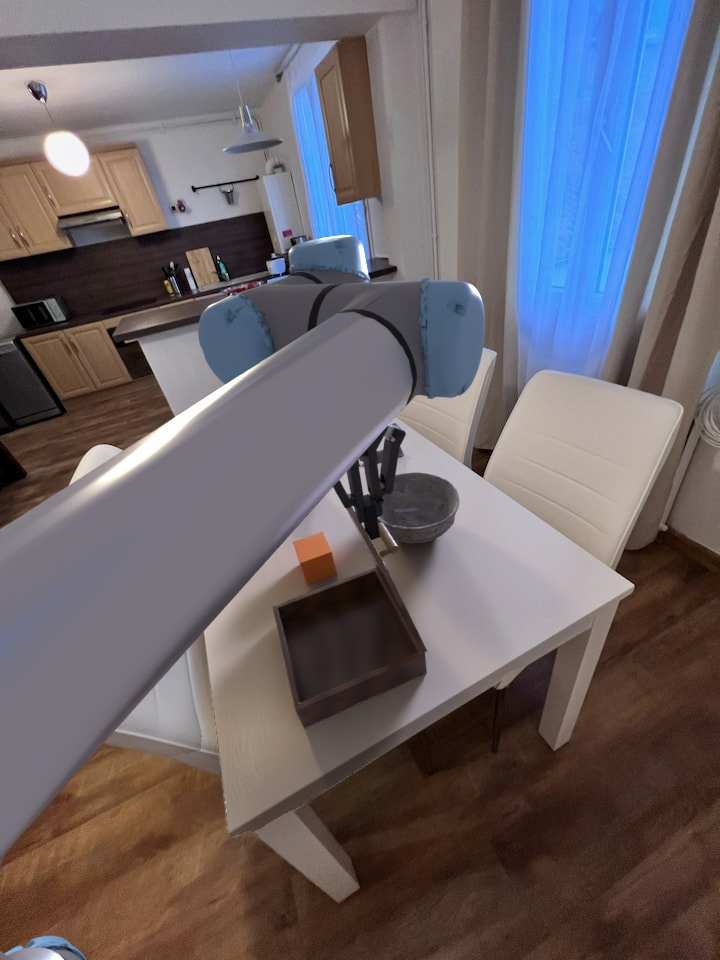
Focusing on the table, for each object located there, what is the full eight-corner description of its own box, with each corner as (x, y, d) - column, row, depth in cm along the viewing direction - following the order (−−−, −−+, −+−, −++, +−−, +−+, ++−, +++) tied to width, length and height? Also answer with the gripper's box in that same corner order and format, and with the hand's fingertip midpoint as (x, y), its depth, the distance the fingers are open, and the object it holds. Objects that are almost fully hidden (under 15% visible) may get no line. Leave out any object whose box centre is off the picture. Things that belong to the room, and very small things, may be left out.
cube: (307, 585, 87) (299, 563, 83) (299, 563, 93) (292, 542, 89) (337, 573, 89) (331, 551, 85) (328, 553, 94) (322, 531, 90)
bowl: (478, 535, 92) (480, 501, 86) (404, 576, 86) (400, 543, 80) (424, 491, 108) (422, 461, 102) (358, 524, 101) (352, 493, 95)
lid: (382, 572, 51) (411, 556, 51) (334, 485, 67) (356, 474, 68) (423, 653, 65) (445, 640, 65) (375, 565, 81) (393, 555, 81)
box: (304, 728, 64) (295, 711, 60) (280, 624, 80) (272, 606, 77) (426, 673, 68) (425, 654, 65) (380, 585, 85) (377, 566, 81)
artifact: (404, 455, 123) (403, 449, 122) (362, 468, 121) (361, 461, 120) (400, 450, 126) (399, 443, 125) (358, 461, 124) (357, 455, 123)
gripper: (386, 366, 52) (400, 506, 66) (289, 392, 49) (325, 532, 63) (412, 385, 46) (422, 534, 60) (303, 416, 43) (339, 564, 57)
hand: (372, 533), depth 61 cm, fingers closed
